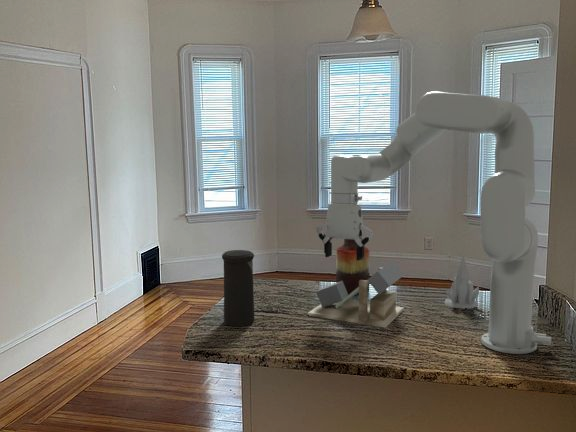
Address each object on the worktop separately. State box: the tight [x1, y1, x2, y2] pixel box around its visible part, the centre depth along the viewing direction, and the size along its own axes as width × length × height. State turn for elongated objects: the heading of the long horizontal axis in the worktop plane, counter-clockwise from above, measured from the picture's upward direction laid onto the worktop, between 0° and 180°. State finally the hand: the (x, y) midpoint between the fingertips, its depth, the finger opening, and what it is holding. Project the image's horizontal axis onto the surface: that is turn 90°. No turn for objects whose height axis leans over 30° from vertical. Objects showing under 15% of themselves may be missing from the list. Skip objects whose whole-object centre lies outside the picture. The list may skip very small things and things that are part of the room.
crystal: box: [444, 256, 480, 310], centre depth 168 cm, size 10×13×15 cm
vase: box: [335, 236, 371, 297], centre depth 181 cm, size 11×11×20 cm
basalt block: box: [315, 281, 348, 308], centre depth 163 cm, size 5×5×7 cm
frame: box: [307, 267, 405, 328], centre depth 160 cm, size 23×18×12 cm
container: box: [221, 249, 255, 327], centre depth 152 cm, size 9×9×20 cm
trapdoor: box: [336, 261, 404, 308], centre depth 157 cm, size 16×14×5 cm
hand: (343, 257), depth 160 cm, fingers open, 9 cm apart
